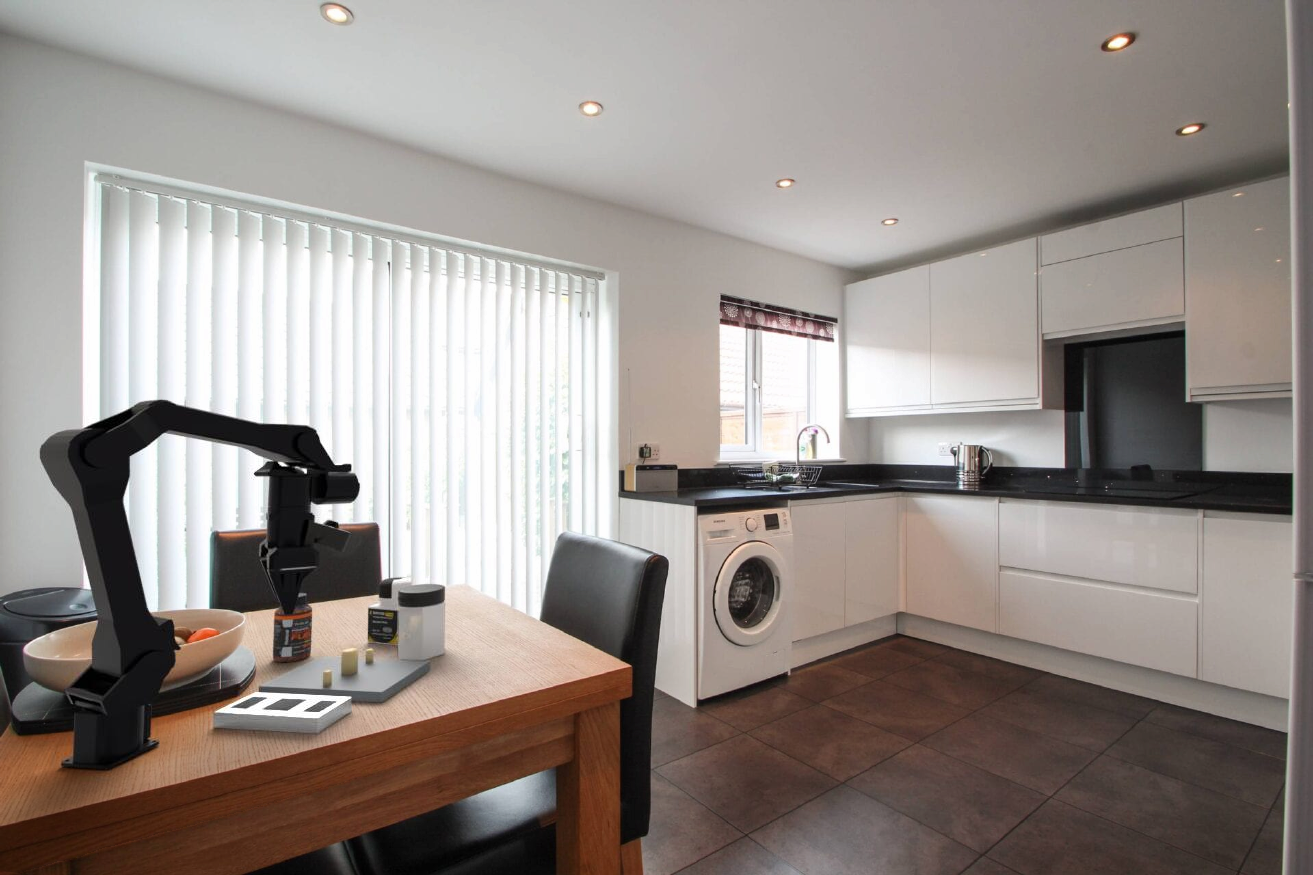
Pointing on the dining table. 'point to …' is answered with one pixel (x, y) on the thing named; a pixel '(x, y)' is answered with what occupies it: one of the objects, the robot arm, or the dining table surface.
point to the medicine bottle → (386, 612)
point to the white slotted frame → (283, 712)
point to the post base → (349, 677)
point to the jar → (421, 622)
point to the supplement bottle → (293, 632)
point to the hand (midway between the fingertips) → (285, 608)
